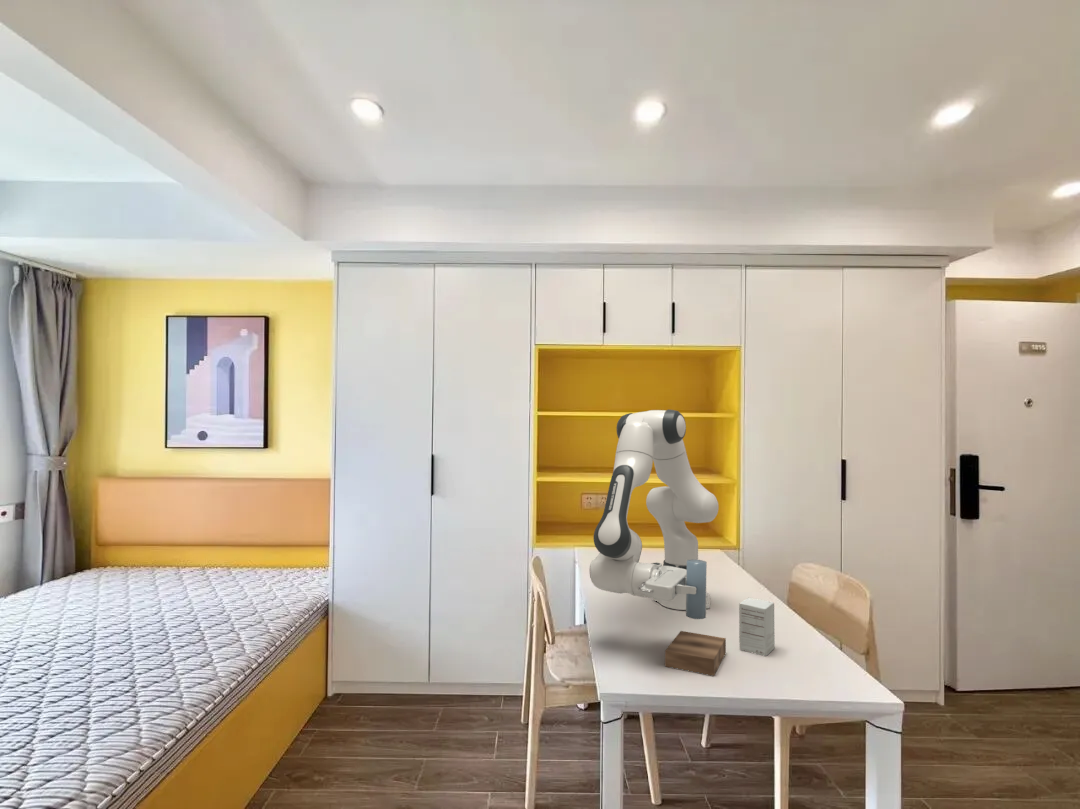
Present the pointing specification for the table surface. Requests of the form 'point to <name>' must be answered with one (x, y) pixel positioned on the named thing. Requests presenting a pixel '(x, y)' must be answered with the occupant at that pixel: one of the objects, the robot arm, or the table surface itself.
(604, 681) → the table surface
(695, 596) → the slate cylinder
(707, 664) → the plate
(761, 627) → the supplement box
